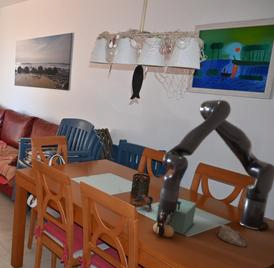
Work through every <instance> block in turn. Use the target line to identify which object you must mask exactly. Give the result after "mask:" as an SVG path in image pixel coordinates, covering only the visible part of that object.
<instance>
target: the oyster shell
mask: <svg viewBox="0 0 274 268" xmlns="http://www.w3.org/2000/svg"><path fill="white" fill-rule="evenodd" d="M219 226H220V228H219V230H218V231H219V232H218V234H217V235H218V238H220V239H221V241H225V242H227V243H229V244H232V245H234V246H235V245H236V246H238V247H246V242H245V240H244V238H242V237H241V236H242V234H241V231H237V230H233V228H231V227H230V226H227V225H225V224H220V225H219Z"/></svg>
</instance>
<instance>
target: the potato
mask: <svg viewBox="0 0 274 268" xmlns="http://www.w3.org/2000/svg"><path fill="white" fill-rule="evenodd" d="M157 224H158V222H157V223H156V222H155V223H154V224H153V226H152V227H153V231H154V233H155V234H157V235H158V231H159V227H157ZM161 225H162V224H161ZM174 233H175V231H174V230H173V228H172V227H171V226H169V225H166V226H165V229H164V235H163V236H162V237H165V238H170V237H173V235H174Z"/></svg>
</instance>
